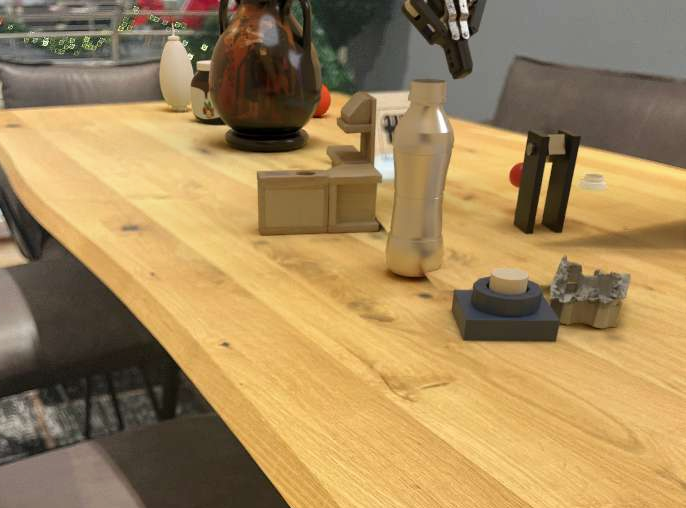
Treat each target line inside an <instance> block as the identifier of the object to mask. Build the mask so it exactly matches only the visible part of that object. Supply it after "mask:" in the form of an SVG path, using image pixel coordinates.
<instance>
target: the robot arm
mask: <svg viewBox="0 0 686 508" xmlns="http://www.w3.org/2000/svg"><path fill="white" fill-rule="evenodd" d="M486 4H487V0H406V1H405V2H403V4H401V6H400V10H401V13H402V14H403V15H404V16H405V17H406V18H407V19H408V21H409V22H410V23H411V24H412V26H414V28H415V29H416V30H417V32H419V34H420V35H421V37H423V38H424V39H425V41H426V42H427V43H428V44H429V46H434V45H438V46H439V48H440V50H441V49H442V50H443V52H444V56H445V60H446V65H447V68H448V72H449V73H450V75H451V77H452V80H461V79H465V78H467V77H468V76H469V75H471V74H472V73H473V68H474V62H473V59H472V53H471V50H470V46H469V39H470V38H471V37H473V36H474V35H476V34H477V33H479V29H480V26H481V24H482V23H481V22H482V18H483V16H484V11H485V7H486Z"/></svg>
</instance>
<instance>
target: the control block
mask: <svg viewBox="0 0 686 508" xmlns="http://www.w3.org/2000/svg"><path fill="white" fill-rule="evenodd" d="M490 277H491V275H489V276H485V277H479V278H478V279H477V280H476V281H475V282H473V283H472V289H454V290H453V294H452V302H451V312H452V315H453V317H454V321H455V323H456V325H457V327H458V330H459V333H460V335H461V338H462V340H463V341H464V342H465V341H467V342H469V341H470V342H537V343H539V342H544V343H545V342H547V343H548V342H550V343H552V342H554V343H555V342H557V337H558V333H559V328H560V324H561V323H560V320H559V318H558V317H557V315H556V314H555V312H554V311H553V309H552V308H551V304H550V303H549V302H548V300H547V299H546V297H545V295H544V294H543V293H544V290H543V288H542V287H541V286H540V284H538V283H536V282H535V281H533V280H530V279H528V284H527V289H526V293H523V294H518V295H506V294H501V293H496V292H494V291H492V290H490V289H489V283H490Z"/></svg>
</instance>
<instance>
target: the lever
mask: <svg viewBox="0 0 686 508" xmlns="http://www.w3.org/2000/svg"><path fill="white" fill-rule="evenodd" d="M546 135H547V136H549V137H550V140H549V146H548V151H547V157H546V163H545V164H550V163H551V164H552V163H555V162H556V161H558V160H559V159H560V158H561V157H562V156H564V155H565V137H564V134H558V133H557V134H546ZM522 168H523V162H518V163H516V164H514V165H513V166H512V167H511V168H510V170H509V173H508V179H509V182H510V184H511V185H512V186H513V187H515V188H518V189H519V186H520V180H521V174H522Z"/></svg>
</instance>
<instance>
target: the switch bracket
mask: <svg viewBox="0 0 686 508" xmlns="http://www.w3.org/2000/svg"><path fill="white" fill-rule="evenodd" d="M557 134H564V137H565V155H564V156H562V157H561V158H560V159H559V160H558V161H556V162H555V163H551V168H550V173H549V178H548V184H547V190H546V195H545V201H544V205H543V211H542V217H541V225H543V226H544V227H545V228H547V229H548V230H550V231H551V232H553V233H554V234H562V233H563V229H564V225H565V218H566V216H567V215H566V214H567V210H568V209H567V208H568V204H569V199H570V195H571V189H572V185H573V179H574V173H575V168H576V164H577V159H578V155H579V149H580V144H581V138H582V135H579V134H578V133H575V132H573V131H570V130H567V129H558V130H557ZM547 135H548V134H545V133H543V132H540V131H538V130H536V129H529V130H528V131H527V137H526V144H525V151H524V155H523V168H522V174H521V180H520V186H519V188H518V193H517V199H516V205H515V210H514V211H515V212H514V217H513V226H514V227H516V228H517V229H519V230H520V231H521V232H522V233H523V234H525V235H533V234H534V232H535V231H534V230H535V224H536V219H537V215H538V214H537V213H538V208H539V202H540V197H541V190H542V184H543V180H544V173H545V169H546V164H547V163H546V157H547V151H548V146H549V140H550V137H549V136H547Z"/></svg>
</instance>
